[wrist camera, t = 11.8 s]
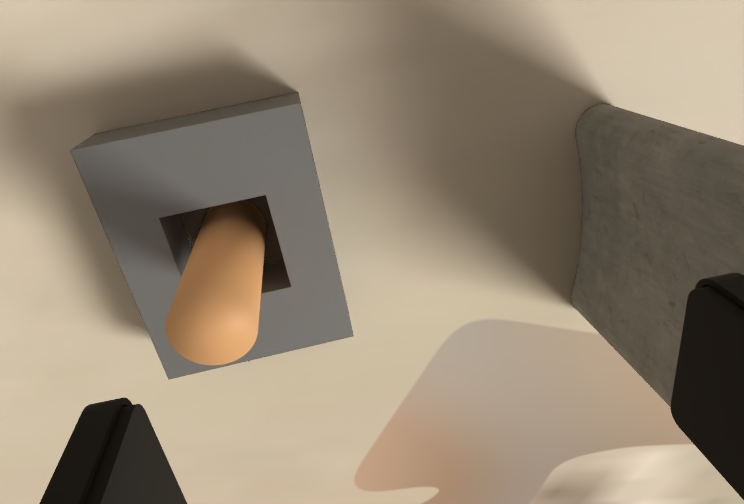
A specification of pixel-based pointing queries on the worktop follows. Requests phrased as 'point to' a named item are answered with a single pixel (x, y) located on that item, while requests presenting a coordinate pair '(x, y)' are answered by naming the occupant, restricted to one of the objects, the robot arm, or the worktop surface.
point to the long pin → (220, 287)
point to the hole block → (211, 188)
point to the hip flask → (652, 231)
